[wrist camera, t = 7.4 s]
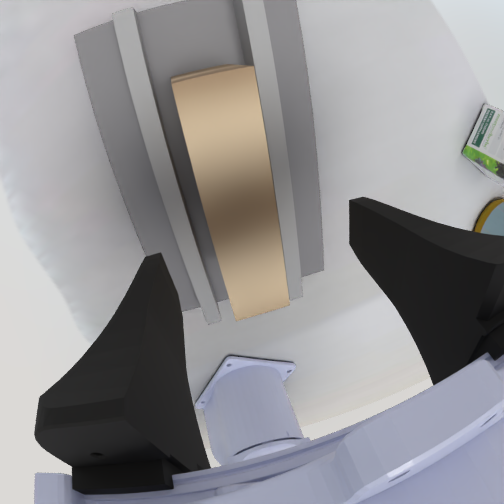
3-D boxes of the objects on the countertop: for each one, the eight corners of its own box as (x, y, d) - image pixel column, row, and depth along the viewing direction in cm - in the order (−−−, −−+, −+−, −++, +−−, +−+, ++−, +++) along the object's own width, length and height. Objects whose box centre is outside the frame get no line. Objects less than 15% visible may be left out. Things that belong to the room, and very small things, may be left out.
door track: (318, 262, 26) (334, 286, 23) (171, 305, 24) (174, 333, 22) (287, -10, 14) (307, -19, 12) (78, 36, 13) (62, 33, 10)
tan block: (260, 245, 22) (289, 304, 17) (218, 257, 22) (236, 321, 17) (226, 64, 15) (253, 66, 10) (170, 76, 15) (171, 83, 10)
